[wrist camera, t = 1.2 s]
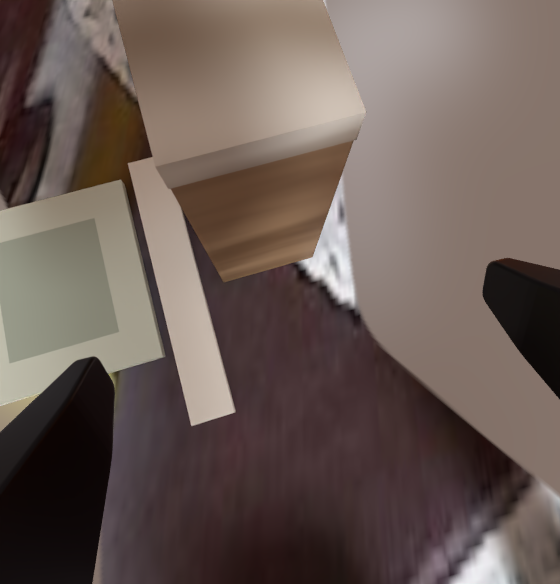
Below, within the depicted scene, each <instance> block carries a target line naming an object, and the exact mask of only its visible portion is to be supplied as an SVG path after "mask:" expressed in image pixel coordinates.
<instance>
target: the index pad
mask: <svg viewBox="0 0 560 584" xmlns="http://www.w3.org/2000/svg"><path fill="white" fill-rule="evenodd" d="M91 356H95V357H97V358H98V359H99V360H100V361H101V363H102V364H103V366H104V368H105V369H106V371H107V373H108V374H109V373H113V372H116V371H120V370H123V369H126V368H130V367H133V366H136V365H140V364H143V363H147V362H150V361H153V360H157V359H160V358H163V357H166V356H165V352H164V347H163V343H162V339H161V335H160V331H159V326H158V322H157V318H156V314H155V310H154V305H153V301H152V297H151V293H150V289H149V284H148V280H147V276H146V272H145V268H144V263H143V259H142V255H141V251H140V246H139V242H138V238H137V234H136V230H135V225H134V221H133V217H132V213H131V209H130V204H129V200H128V196H127V192H126V188H125V184H124V183H123V182H122V180H117V181H113V182H109V183H105V184H101V185H98V186H94V187H90V188H86V189H82V190H78V191H74V192H70V193H67V194H63V195H59V196H55V197H51V198H47V199H43V200H40V201H36V202H32V203H28V204H24V205H20V206H16V207H12V208H9V209H5V210H1V211H0V406H2V405H5V404H8V403H11V402H15V401H18V400H22V399H25V398H28V397H32V396H35V395H39V394H41V393H42V392H43V391H44V390H45V389H46V388H47V387H48V386H49V385H50V384H51V383H52V382H53V381H54V380H56V379H57V378H58V377H59V376H60V375H61V374H62V373H63V372H64V371H65V370H66V369H67V368H68V367H69V366H70V365H71V364H72V363H73V362H75V361H76V360H79V359H83V358H87V357H91Z"/></svg>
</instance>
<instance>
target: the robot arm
mask: <svg viewBox="0 0 560 584" xmlns="http://www.w3.org/2000/svg"><path fill="white" fill-rule="evenodd" d="M483 297H484V300H485V302H486V304H487V305H488V306H489V308H490V309H491V311H492V312H493V314H494V315H495V317H496V318H497V320H498V321H499V323H500V324H501V326H502V327H503V328H504V330H505V331H506V333H507V334H508V336H509V337H510V339H511V340H512V342H513V343H514V344H515V346H516V347H517V349H518V350H519V351H520V353H521V354H522V355H523V356H524V358H525V359H526V360H527V361H528V363H529V364H530V365H531V366H532V367H533V368H534V370H535V371H536V372H537V373H538V374H539V375H540V377H541V378H542V379H543V380H544V381H545V383H546V384H547V385H548V386H549V387H550V388H551V390H552V391H553V392H554V393H555V394H556V396H558V398H559V399H560V270H558V269H554V268H550V267H546V266H541V265H537V264H533V263H528V262H524V261H520V260H515V259H511V258H504V259H499V260H496V261H492V262H490V263H489V264H488V266H487V268H486V274H485V280H484V285H483ZM114 398H115V389H114V384H113V382H112V380H111V378H110V376H109V375H108V373H107V371H106V369H105V368H104V366H103V364H102V363H101V361H100V360H99V359H98V358H97V357H95V356H91V357H87V358H83V359H79V360H76V361H75V362H73V363H72V364H71V365H70V366H69V367H68V368H67V369H66V370H65V371H64V372H63V373H62V374H61V375H60V376H59V377H58V378H57V379H56V380H54V381H53V382H52V383H51V384H50V385H49V386H48V387H47V388H46V389H45V390H44V391H43V392H42V393H41V394H40V395H39V396H38V397H37V398H36V399H35V400H34V401H32V402H31V403H30V404H29V405H28V406H27V407H26V408H25V409H24V410H23V411H22V412H21V413H20V414H19V415H18V416H17V417H16V418H15V419H14V420H13V421H12V422H11V423H9V424H8V425H7V426H6V427H5V428H4V429H3V430H2V431H1V432H0V584H92V582H93V575H94V569H95V563H96V556H97V550H98V543H99V537H100V531H101V524H102V518H103V512H104V505H105V499H106V493H107V486H108V480H109V474H110V467H111V460H112V448H113V424H114Z"/></svg>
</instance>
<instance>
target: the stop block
mask: <svg viewBox="0 0 560 584" xmlns="http://www.w3.org/2000/svg"><path fill="white" fill-rule="evenodd" d="M112 1H113V5H114V8H115V12H116V16H117V20H118V24H119V28H120V32H121V36H122V40H123V43H124V47H125V51H126V55H127V59H128V63H129V67H130V71H131V75H132V78H133V82H134V86H135V90H136V94H137V98H138V102H139V106H140V110H141V113H142V117H143V121H144V125H145V129H146V133H147V137H148V141H149V145H150V148H151V152H152V156H153V160H154V164H155V167H156V169H157V171H158V172H159V174H160V176H161V178H162V179H163V181H164V183H165V184H166V186H167V188H168V189H171V190H172V192H173V194H174V196H175V198H176V199H177V201H178V203H179V205H180V206H181V208H182V210H183V212H184V213H185V215H186V217H187V219H188V220H189V222H190V224H191V226H192V227H193V229H194V231H195V233H196V234H197V236H198V238H199V240H200V242H201V243H202V245H203V247H204V249H205V250H206V252H207V254H208V256H209V257H210V259H211V261H212V263H213V264H214V266H215V268H216V270H217V271H218V273H219V275H220V277H221V278H222V280H223V282H227V281H230V280H234V279H237V278H241V277H244V276H248V275H251V274H255V273H258V272H262V271H265V270H269V269H272V268H276V267H279V266H283V265H286V264H290V263H294V262H297V261H301V260H304V259H308V258H311V257H313V254H314V251H315V248H316V245H317V243H318V240H319V237H320V234H321V231H322V228H323V226H324V223H325V220H326V217H327V214H328V211H329V209H330V206H331V203H332V200H333V197H334V194H335V192H336V189H337V186H338V183H339V180H340V178H341V175H342V172H343V169H344V166H345V163H346V161H347V158H348V155H349V152H350V149H351V146H352V143H353V141H354V140H356V139H357V137H358V134H359V131H360V128H361V126H362V123H363V120H364V118H365V114H366V110H365V107H364V105H363V102H362V100H361V97H360V95H359V92H358V89H357V87H356V84H355V82H354V79H353V76H352V74H351V71H350V69H349V66H348V64H347V61H346V59H345V56H344V53H343V51H342V48H341V46H340V43H339V40H338V38H337V35H336V33H335V30H334V27H333V25H332V22H331V20H330V17H329V15H328V12H327V9H326V7H325V4H324V2H323V0H112Z"/></svg>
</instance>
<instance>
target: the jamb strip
mask: <svg viewBox="0 0 560 584" xmlns="http://www.w3.org/2000/svg"><path fill="white" fill-rule="evenodd" d="M128 166H129V170H130V174H131V179H132V183H133V187H134V191H135V195H136V199H137V203H138V207H139V212H140V216H141V220H142V224H143V228H144V232H145V236H146V241H147V245H148V249H149V253H150V257H151V261H152V265H153V269H154V274H155V278H156V282H157V286H158V290H159V294H160V298H161V302H162V307H163V311H164V315H165V319H166V323H167V327H168V331H169V335H170V340H171V344H172V348H173V352H174V356H175V360H176V364H177V368H178V373H179V377H180V381H181V385H182V389H183V393H184V397H185V402H186V406H187V410H188V414H189V418H190V422H191V426H193V425H197V424H200V423H203V422H206V421H209V420H213V419H216V418H219V417H222V416H225V415H229V414H232V413H235V412H236V410H235V406H234V403H233V399H232V395H231V391H230V388H229V384H228V380H227V376H226V373H225V369H224V365H223V361H222V358H221V354H220V350H219V346H218V343H217V339H216V335H215V331H214V327H213V324H212V320H211V316H210V312H209V309H208V305H207V301H206V297H205V294H204V290H203V286H202V282H201V279H200V275H199V271H198V267H197V264H196V260H195V256H194V252H193V249H192V245H191V241H190V237H189V233H188V230H187V226H186V222H185V218H184V215H183V211H182V208H181V206H180V205H179V203H178V201H177V199H176V198H175V196H174V194H173V192H172V190H171V189H168V188H167V186H166V184H165V183H164V181H163V179H162V178H161V176H160V174H159V172H158V171H157V169H156V167H155V164H154V160H153V157H151V158H147V159H143V160H139V161H135V162H131V163H128Z"/></svg>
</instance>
